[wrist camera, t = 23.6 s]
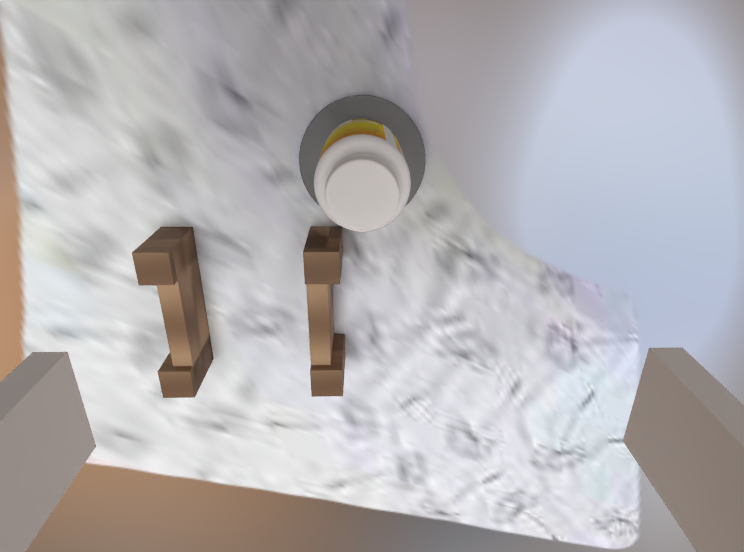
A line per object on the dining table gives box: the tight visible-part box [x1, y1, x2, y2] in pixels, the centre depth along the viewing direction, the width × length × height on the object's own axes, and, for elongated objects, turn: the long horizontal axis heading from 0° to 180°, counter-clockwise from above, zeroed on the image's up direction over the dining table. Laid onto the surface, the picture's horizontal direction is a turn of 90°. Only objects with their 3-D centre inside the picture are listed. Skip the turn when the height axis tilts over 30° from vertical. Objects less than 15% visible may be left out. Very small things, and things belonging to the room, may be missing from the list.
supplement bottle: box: [314, 118, 411, 232], centre depth 30 cm, size 6×6×10 cm
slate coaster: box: [299, 95, 425, 206], centre depth 35 cm, size 9×9×1 cm
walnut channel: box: [132, 227, 345, 398], centre depth 38 cm, size 12×14×5 cm
